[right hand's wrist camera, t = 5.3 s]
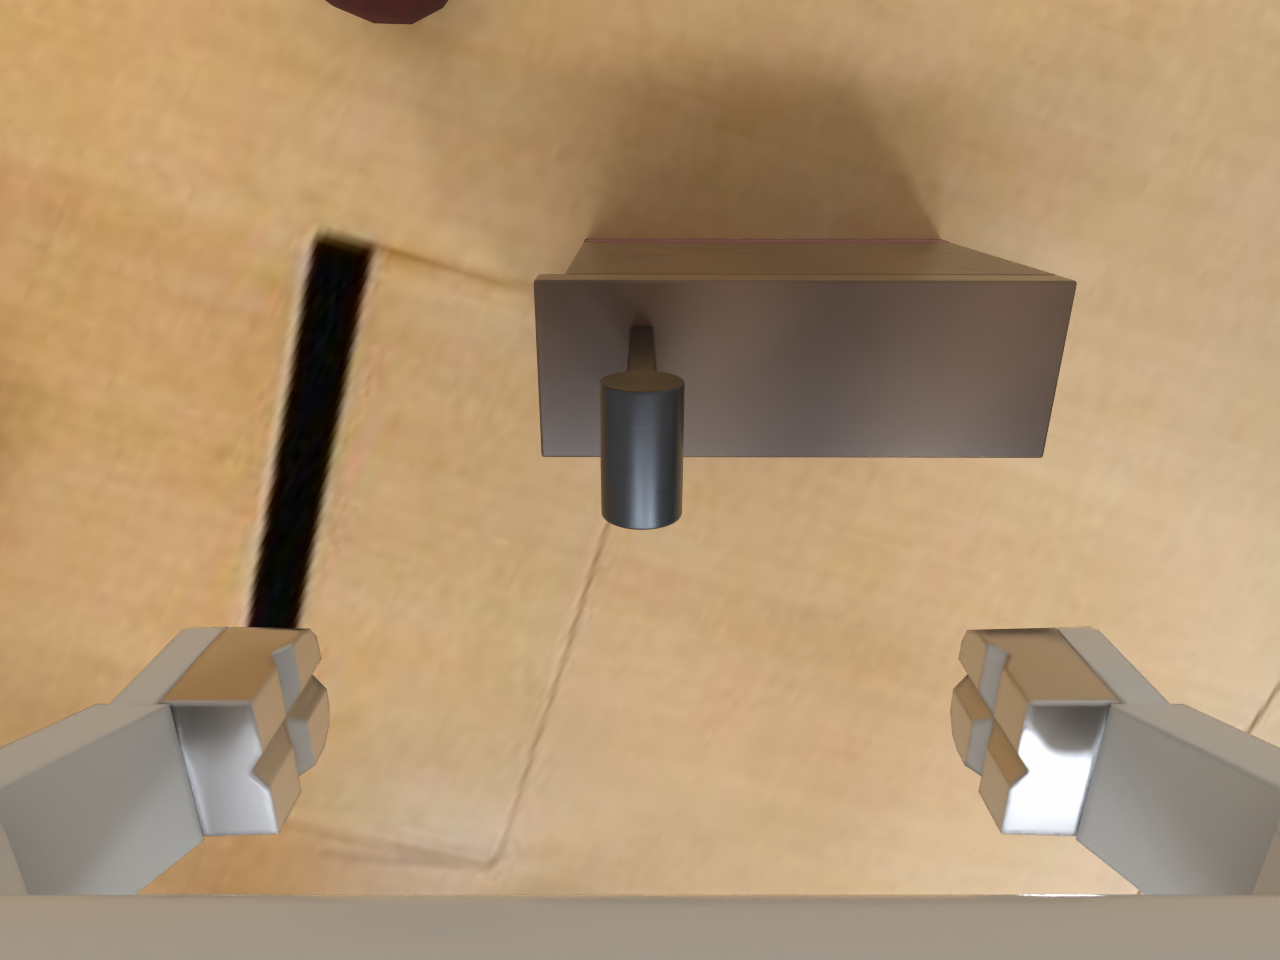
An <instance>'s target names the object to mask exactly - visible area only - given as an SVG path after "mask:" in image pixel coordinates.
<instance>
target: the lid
mask: <svg viewBox="0 0 1280 960" xmlns="http://www.w3.org/2000/svg"><path fill="white" fill-rule="evenodd" d="M1076 284H1077V283H1076V281H1074V280H1070V279H1067V278H1064V277H1060V276H1057V275H606V274H540V275H539V276H538V277H537V278H536V279H535V280H534V300H535V322H536V344H537V365H538V387H539V409H540V431H541V452H542V456H543V457H601V503H602V515H603V517H604V519H605V520H606V521H608V522H609V523H611V524H613V525H616V526H619V527H623V528H628V529H638V530H646V529H656V528H661V527H665V526H668V525H671V524H673V523H674V522H676V521H677V520H678V519H679V518H680V517H681V514H682V484H683V457H923V458H1041V457H1042V456H1043V452H1044V447H1045V442H1046V437H1047V432H1048V427H1049V422H1050V417H1051V411H1052V406H1053V401H1054V396H1055V391H1056V386H1057V381H1058V376H1059V371H1060V366H1061V361H1062V356H1063V350H1064V345H1065V340H1066V335H1067V330H1068V325H1069V320H1070V315H1071V310H1072V305H1073V300H1074V295H1075V290H1076Z"/></svg>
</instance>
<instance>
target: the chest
mask: <svg viewBox="0 0 1280 960" xmlns="http://www.w3.org/2000/svg"><path fill="white" fill-rule="evenodd" d="M565 274H606V275H1055V274H1051V273H1048V272H1045V271H1041V270H1038V269H1035V268H1031V267H1028V266H1025V265H1022V264H1018V263H1015V262H1012V261H1008V260H1005V259H1002V258H998V257H995V256H992V255H988V254H985V253H982V252H978V251H975V250H972V249H968V248H965V247H962V246H959V245H955V244H952V243H949V242H947V241H944V240H864V239H585V241H584V244H583V246H582V247H581V249H580V251H579V252H578V254H577V255H576V257H575V259H574V260H573V262H572V264H571V265H570V267H569V269H568V270H567V272H566V273H565Z"/></svg>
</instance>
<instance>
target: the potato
mask: <svg viewBox="0 0 1280 960" xmlns="http://www.w3.org/2000/svg"><path fill="white" fill-rule="evenodd" d="M326 1H327V2H328V3H330V4H331V5H332V6H334V7H337V8H339V9H342V10H344V11H346V12H349V13H351V14H354V15H356V16H358V17H361V18H363V19H365V20H368V21H370V22H373V23H386V24H413V23H415V22H417V21H419V20H421V19H422V18H424V17H426V16H428V15H430V14H432V13H434V12H436V11H438V10H439V9H441V8H443V7H444V5H445V4H446V3H447V1H448V0H326Z"/></svg>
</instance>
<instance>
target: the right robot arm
mask: <svg viewBox="0 0 1280 960" xmlns="http://www.w3.org/2000/svg"><path fill="white" fill-rule="evenodd" d="M320 661H321V654H320V649H319V645H318V640H317V636H316V635H315V634H314V633H313V632H312V631H311V630H310V629H298V628H248V627H232V628H228V627H191V628H187V629H182V630H181V631H180V632H179V633H178V634H177V635H176V636H175V637H174V638H173V639H172V640H171V641H170V642H169V643H168V645H167V646H166V647H165V648H164V649H163V650H162V651H161V652H160V653H159V654H158V655H157V656H156V657H155V658H154V659H153V660H152V661H151V662H150V663H149V664H148V665H147V666H146V667H145V668H144V669H143V670H142V671H141V672H140V673H139V674H138V675H137V676H136V677H135V678H134V679H133V681H132V682H131V683H130V684H129V685H128V686H127V687H126V688H125V689H124V690H123V691H122V692H121V693H120V694H119V695H118V696H117V697H116V698H115V699H114V700H113V701H112V702H111V703H110V704H95V705H93V706H91V707H89V708H87V709H84V710H82V711H80V712H78V713H76V714H73V715H71V716H69V717H67V718H65V719H62V720H60V721H58V722H56V723H54V724H51V725H49V726H47V727H45V728H43V729H41V730H38V731H36V732H34V733H32V734H30V735H27V736H25V737H23V738H21V739H19V740H16V741H14V742H12V743H10V744H8V745H5V746H3V747H1V748H0V960H1280V748H1279V747H1277V746H1274V745H1272V744H1270V743H1268V742H1266V741H1263V740H1261V739H1259V738H1257V737H1255V736H1252V735H1250V734H1248V733H1246V732H1244V731H1242V730H1239V729H1237V728H1235V727H1233V726H1231V725H1228V724H1226V723H1224V722H1222V721H1220V720H1217V719H1215V718H1213V717H1211V716H1209V715H1207V714H1204V713H1202V712H1200V711H1198V710H1196V709H1193V708H1191V707H1189V706H1187V705H1185V704H1170V703H1169V702H1168V701H1167V700H1166V699H1165V698H1164V697H1163V696H1162V695H1161V694H1160V693H1159V692H1158V691H1157V690H1156V689H1155V688H1154V687H1153V686H1152V685H1151V684H1150V682H1149V681H1148V680H1147V679H1146V678H1145V677H1144V676H1143V675H1142V674H1141V673H1140V672H1139V671H1138V670H1137V669H1136V668H1135V667H1134V666H1133V665H1132V664H1131V663H1130V662H1129V661H1128V660H1127V659H1126V658H1125V657H1124V656H1123V655H1122V654H1121V653H1120V652H1119V650H1118V649H1117V648H1116V647H1115V646H1114V645H1113V644H1112V643H1111V642H1110V641H1109V640H1108V639H1107V638H1106V637H1105V636H1104V635H1103V634H1102V633H1101V632H1100V631H1099V630H1097V629H1094V628H1091V627H1089V626H1084V627H1057V628H1028V629H989V630H967V632H966V634H965V636H964V638H963V640H962V643H961V648H960V653H959V661H960V662H961V664H962V665H963V667H964V669H965V670H966V672H967V674H968V675H967V676H966V677H965V678H964V679H963V680H962V681H961V682H960V683H959V684H958V685H957V686H956V687H955V688H954V689H953V695H952V703H951V711H950V714H951V725H952V735H953V738H954V742H955V745H956V748H957V751H958V753H959V755H960V757H961V759H962V761H963V763H964V765H965V766H967V767H968V768H970V769H971V770H973V771H974V772H976V773H977V774H979V775H980V776H981V782H980V787H979V793H980V795H981V797H982V799H983V801H984V802H985V804H986V806H987V808H988V810H989V812H990V814H991V815H992V817H993V819H994V821H995V823H996V825H997V827H998V828H999V830H1000V832H1001V834H1016V835H1053V836H1077V837H1076V840H1077V841H1078V842H1080V843H1081V844H1082V845H1083V846H1085V847H1086V848H1087V849H1088V850H1090V851H1091V852H1092V853H1093V854H1095V855H1096V856H1097V857H1098V858H1100V859H1101V860H1102V861H1104V862H1105V863H1106V864H1107V865H1109V866H1110V867H1111V868H1112V869H1114V870H1115V871H1116V872H1117V873H1119V874H1120V875H1121V876H1122V877H1124V878H1125V879H1126V880H1127V881H1129V882H1130V883H1131V884H1132V885H1134V886H1135V887H1136V888H1137V889H1139V890H1140V891H1141V892H1142V893H1144V894H1145V895H135V894H137V893H138V892H139V891H140V890H142V889H143V888H144V887H145V886H147V885H148V884H149V883H150V882H152V881H153V880H154V879H155V878H157V877H158V876H159V875H160V874H162V873H163V872H164V871H165V870H167V869H168V868H169V867H171V866H172V865H173V864H174V863H176V862H177V861H178V860H179V859H181V858H182V857H183V856H184V855H186V854H187V853H188V852H189V851H191V850H192V849H193V848H194V847H196V846H197V845H198V844H199V843H201V842H202V841H203V840H204V837H203V836H226V835H262V834H279V832H280V830H281V829H282V827H283V825H284V823H285V821H286V819H287V817H288V816H289V814H290V812H291V810H292V808H293V806H294V804H295V803H296V801H297V799H298V797H299V795H300V793H301V787H300V782H299V776H300V775H301V774H303V773H304V772H306V771H307V770H309V769H310V768H312V767H313V766H315V765H316V763H317V761H318V759H319V757H320V755H321V753H322V751H323V749H324V746H325V741H326V737H327V732H328V728H329V701H328V695H327V689H326V688H325V687H324V686H323V685H322V684H321V683H320V682H319V681H318V680H317V679H316V678H315V677H314V676H313V675H312V674H313V672H314V670H315V669H316V667H317V665H318V664H319V662H320Z"/></svg>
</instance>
